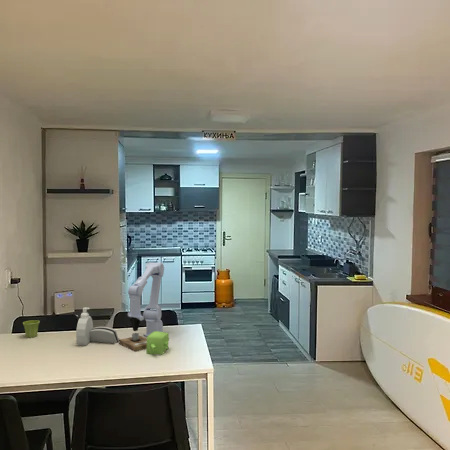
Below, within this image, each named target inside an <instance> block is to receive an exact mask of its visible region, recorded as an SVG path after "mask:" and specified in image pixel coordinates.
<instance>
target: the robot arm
mask: <svg viewBox="0 0 450 450" xmlns="http://www.w3.org/2000/svg"><path fill="white" fill-rule="evenodd" d="M164 272H165V266H164V263H163V262H151V261H149V262H146V264H145V270H144V272H143V274H142V275H141V276H138V278H137V279H136V281H135V282H134V283H133V284H132V285H131V286H129V287H128V290H127V293H128V296H129V297H128V298H129V300H130V301H129V302H130V303H129V306H130V307H129V308H130V309H129V310H130V311H129V312H127V317H128V318H129V321H130V323H131V327H132V330H133V331H134V332H138V330H139V327H140V323H141V321H146V324H145V325H146V332H145V333H143V335H144V336H145V337H146V336H148V335H150V334H151V333H152V332H154V331H159V332H164V327H163V326H164V324H163V321H162V320H161V318H162V308H161V306H160V305H159V304H158V303H159V297H160V290H161V284H162V283H161V282H162V277H164V274H165V273H164ZM150 277H151V278H152V281H151V287H150V289H151V290H150V296H149V297H150V298H149V303H148V304H147V305H145V307H144V311H143V313H142V314H141V311H142V310H141V308H142V306H141V301H142V299H141V297H142V295H143V291H144V288H145V286H146V285H147V283H148V280H149V278H150Z"/></svg>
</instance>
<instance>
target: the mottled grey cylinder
mask: <svg viewBox="0 0 450 450" xmlns="http://www.w3.org/2000/svg"><path fill="white" fill-rule="evenodd" d="M131 337H132V341H133V342H137V341H139V333H137V332H135V333H132V334H131Z"/></svg>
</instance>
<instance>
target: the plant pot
mask: <svg viewBox="0 0 450 450" xmlns="http://www.w3.org/2000/svg"><path fill="white" fill-rule="evenodd" d="M40 321H41V320H26V321H23V322H22V324H23V327H24V332H25V338H35V337H37V336H38V331H39V325H40Z"/></svg>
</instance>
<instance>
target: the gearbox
mask: <svg viewBox="0 0 450 450" xmlns="http://www.w3.org/2000/svg"><path fill="white" fill-rule="evenodd" d="M146 338H147V349H145V350H146V354H148V355H156V354H162V353H163V352H164V351H165V350H166V349H167V350H168V349H169V341H170V337H169V332H165V331H163V332H159V331H154V332H152V333H151V334H150V335H148V336H147V337H146ZM167 350H166V351H167ZM166 351H165V352H166ZM165 352H164V353H165ZM164 353H163V354H164ZM163 354H162V355H163Z"/></svg>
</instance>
